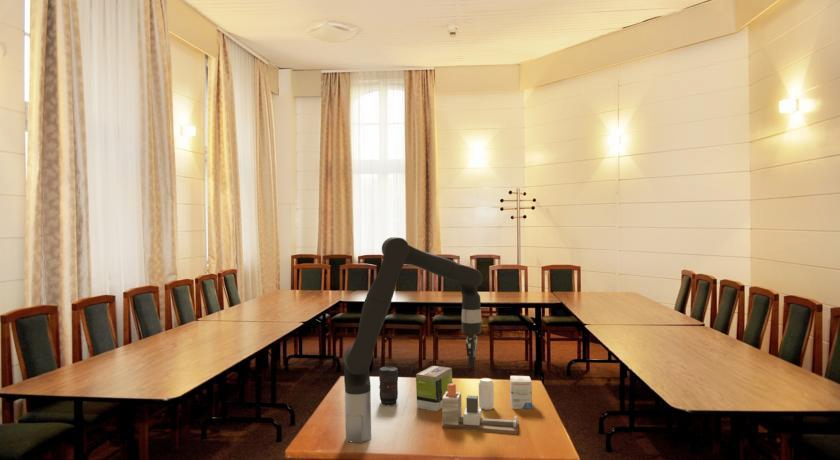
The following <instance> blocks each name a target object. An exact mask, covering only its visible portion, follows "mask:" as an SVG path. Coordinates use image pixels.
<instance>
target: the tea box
mask: <svg viewBox="0 0 840 460" xmlns="http://www.w3.org/2000/svg"><path fill="white" fill-rule="evenodd" d="M450 383H453V368H452V367H446V366H438V365H431V366H429V367H427V368H426V369H424V370H421V371H420V372H417V373H416V374H415V386H416V387H415V388H416V408H417V409H420V408H421V410H425V409H426V410H425V411H432V412H438V411H439V410H440V409H441V410H442V397H443V396H444V394H445V392H446V391H448V384H450Z"/></svg>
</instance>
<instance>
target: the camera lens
mask: <svg viewBox="0 0 840 460" xmlns="http://www.w3.org/2000/svg"><path fill="white" fill-rule="evenodd" d="M378 374H379V375H378V376H379V378H378V379H379V400H380V401H381V402H380V404H381V403H382V404H383V406H387V405H389V406H393V405H396V404H397V402H398V394H399V388H398V384H399V383H398V381H399V371H398V367H395V366H382V367H380V368H379V373H378ZM382 404H381V405H382Z"/></svg>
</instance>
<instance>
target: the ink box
mask: <svg viewBox="0 0 840 460" xmlns="http://www.w3.org/2000/svg"><path fill="white" fill-rule="evenodd" d="M509 379H510V380H509V382H510V383H509V384H510V387H509V388H510V389H509V390H510V391H509V392H510V394H509V395H510V396H509V397H510V405H511V409H512V410H533V386H532V382H533V381H532V379H531V377H530V376H529V375H510V377H509Z"/></svg>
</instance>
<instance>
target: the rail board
mask: <svg viewBox="0 0 840 460" xmlns="http://www.w3.org/2000/svg"><path fill="white" fill-rule="evenodd" d="M441 410H442V411H441V412H442V425H441V428H442V429H447V430H460V431H471V432H484V433H485V432H486V433H495V434H496V433H497V434H500V433H501V434H509V435H518V431H519V423H520V422H519V420H518V416H515V415H514V417H513V420H511V419H498V418H487V417H486V418H484V417H481V418H480V425H479V426H478V425H465V424H463V415H462V392H461V391H456V397H448V391H446V392H445V394H444V396H443V397H442V408H441Z"/></svg>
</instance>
